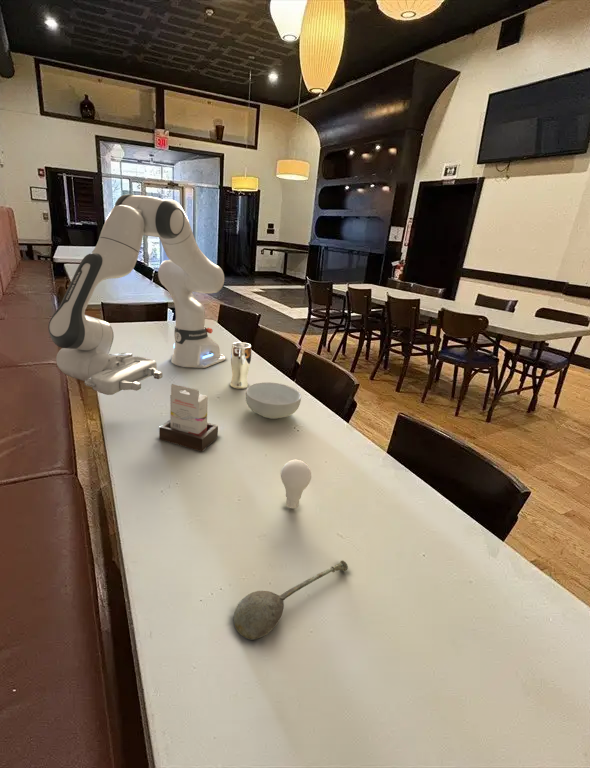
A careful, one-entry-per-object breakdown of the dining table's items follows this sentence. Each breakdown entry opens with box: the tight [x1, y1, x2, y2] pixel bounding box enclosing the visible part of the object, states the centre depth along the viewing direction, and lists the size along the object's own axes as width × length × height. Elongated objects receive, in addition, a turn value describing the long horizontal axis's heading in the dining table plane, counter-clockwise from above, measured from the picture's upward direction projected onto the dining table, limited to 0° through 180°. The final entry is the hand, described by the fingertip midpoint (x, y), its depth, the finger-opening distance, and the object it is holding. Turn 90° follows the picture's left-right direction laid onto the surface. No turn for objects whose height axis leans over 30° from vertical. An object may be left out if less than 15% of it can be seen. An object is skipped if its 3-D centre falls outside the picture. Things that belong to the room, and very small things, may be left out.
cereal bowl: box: [245, 381, 302, 420], centre depth 126 cm, size 17×17×7 cm
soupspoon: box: [233, 560, 349, 640], centre depth 65 cm, size 22×3×7 cm
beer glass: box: [230, 341, 252, 390], centre depth 143 cm, size 7×7×15 cm
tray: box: [158, 419, 219, 453], centre depth 108 cm, size 9×13×4 cm
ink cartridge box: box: [169, 383, 209, 437], centre depth 106 cm, size 9×5×15 cm, turn 67°
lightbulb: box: [280, 459, 312, 510], centre depth 84 cm, size 6×6×11 cm
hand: (150, 381), depth 109 cm, fingers open, 8 cm apart
